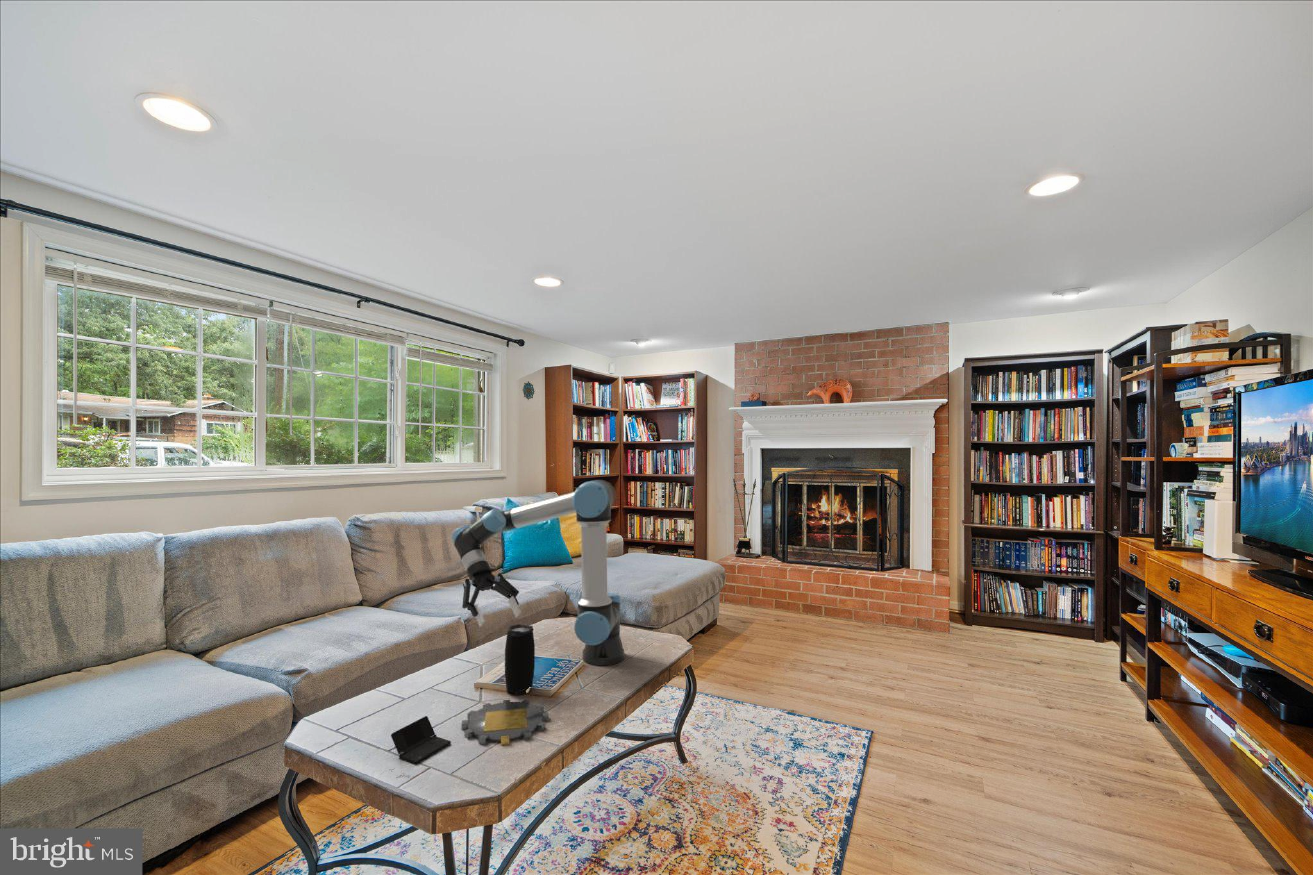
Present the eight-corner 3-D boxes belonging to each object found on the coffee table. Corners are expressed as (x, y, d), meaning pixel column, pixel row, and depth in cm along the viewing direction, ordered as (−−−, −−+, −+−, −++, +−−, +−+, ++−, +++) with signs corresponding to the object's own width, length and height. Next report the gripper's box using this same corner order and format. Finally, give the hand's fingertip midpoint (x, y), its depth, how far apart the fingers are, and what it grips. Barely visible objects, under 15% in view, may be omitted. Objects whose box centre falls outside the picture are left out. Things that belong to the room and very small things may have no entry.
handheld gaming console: (424, 759, 135) (407, 720, 138) (402, 775, 136) (386, 735, 139) (455, 743, 146) (438, 707, 149) (434, 757, 147) (418, 721, 150)
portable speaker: (538, 686, 180) (540, 624, 181) (523, 698, 172) (524, 633, 172) (515, 682, 183) (516, 621, 183) (498, 694, 174) (499, 630, 175)
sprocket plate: (465, 708, 165) (465, 702, 165) (546, 701, 170) (546, 695, 170) (457, 749, 142) (457, 742, 142) (550, 739, 148) (550, 732, 148)
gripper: (503, 567, 206) (527, 617, 196) (438, 578, 187) (461, 634, 177) (512, 554, 202) (537, 605, 192) (446, 564, 184) (470, 621, 173)
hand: (501, 619), depth 185 cm, fingers open, 13 cm apart
